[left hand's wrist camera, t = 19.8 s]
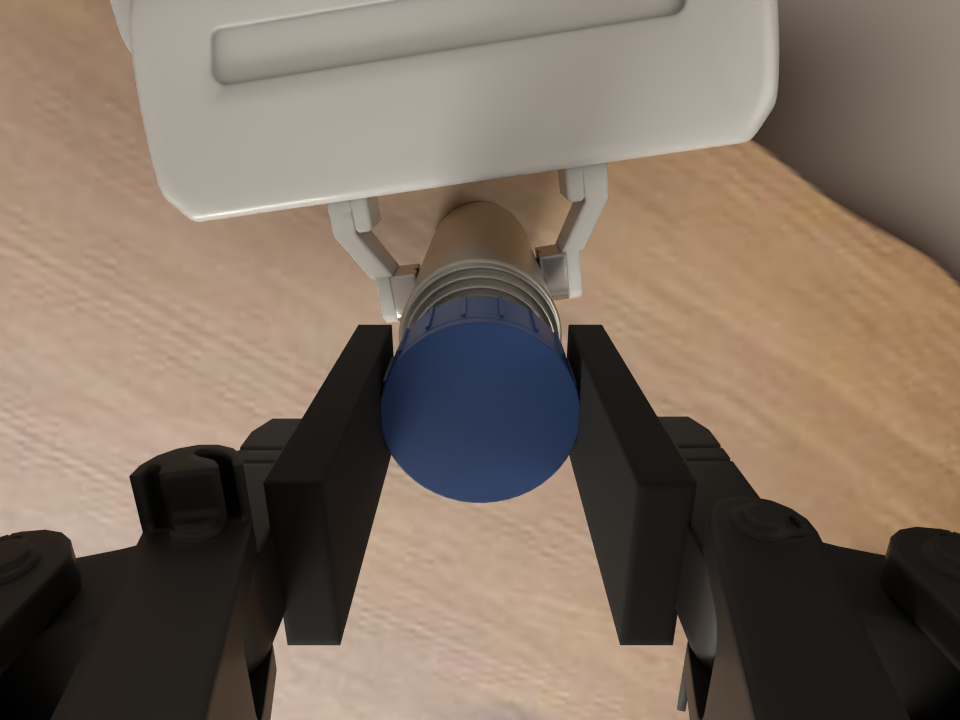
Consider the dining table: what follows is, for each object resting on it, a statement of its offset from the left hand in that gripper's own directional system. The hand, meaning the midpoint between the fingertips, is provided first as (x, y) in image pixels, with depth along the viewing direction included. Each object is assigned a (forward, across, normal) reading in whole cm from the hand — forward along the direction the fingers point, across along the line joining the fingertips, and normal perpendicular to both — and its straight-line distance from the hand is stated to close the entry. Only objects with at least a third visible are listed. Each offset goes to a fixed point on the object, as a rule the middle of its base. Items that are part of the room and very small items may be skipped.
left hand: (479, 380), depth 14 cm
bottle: (+15, 0, 0) cm, 15 cm away
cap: (-2, 0, 0) cm, 2 cm away
